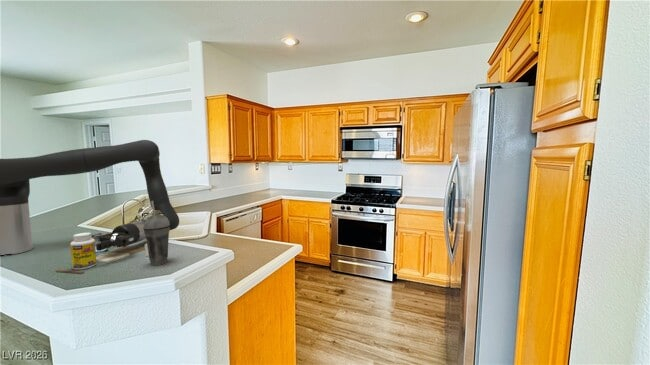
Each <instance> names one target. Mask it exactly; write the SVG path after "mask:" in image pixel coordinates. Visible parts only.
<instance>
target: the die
mask: <svg viewBox="0 0 650 365" xmlns="http://www.w3.org/2000/svg"><path fill="white" fill-rule="evenodd" d="M144 247H145V249H144V254H145V255H144V257H149V253H148V247H147V243H144Z"/></svg>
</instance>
